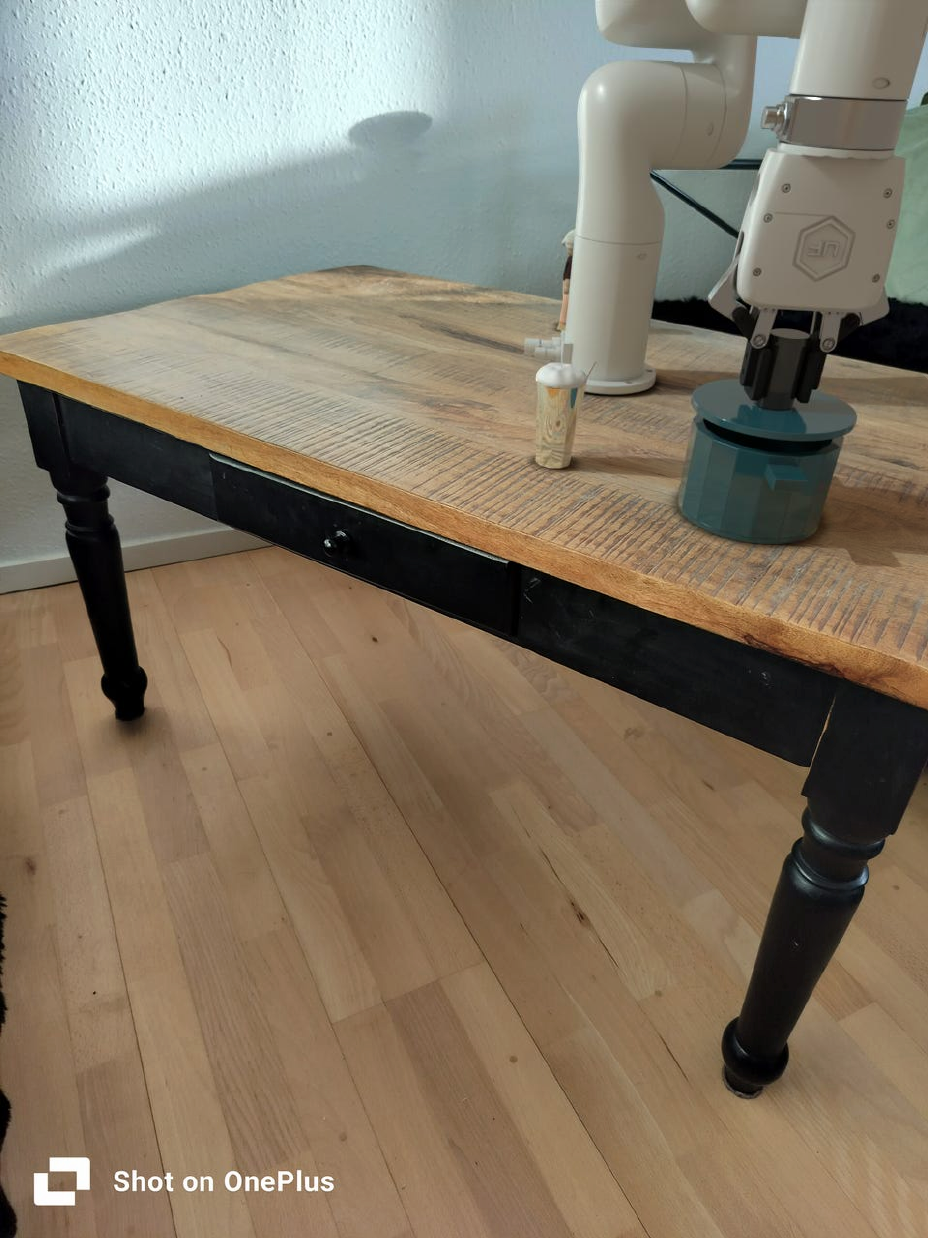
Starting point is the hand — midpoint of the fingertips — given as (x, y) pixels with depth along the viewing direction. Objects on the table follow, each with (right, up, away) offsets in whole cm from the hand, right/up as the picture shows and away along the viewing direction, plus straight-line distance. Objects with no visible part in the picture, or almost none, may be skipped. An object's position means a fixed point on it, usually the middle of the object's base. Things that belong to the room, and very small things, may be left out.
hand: (775, 394), depth 68 cm
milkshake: (-16, -3, +13) cm, 21 cm away
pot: (0, -9, +6) cm, 10 cm away
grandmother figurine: (-10, +23, +53) cm, 58 cm away
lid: (0, -1, +1) cm, 1 cm away
